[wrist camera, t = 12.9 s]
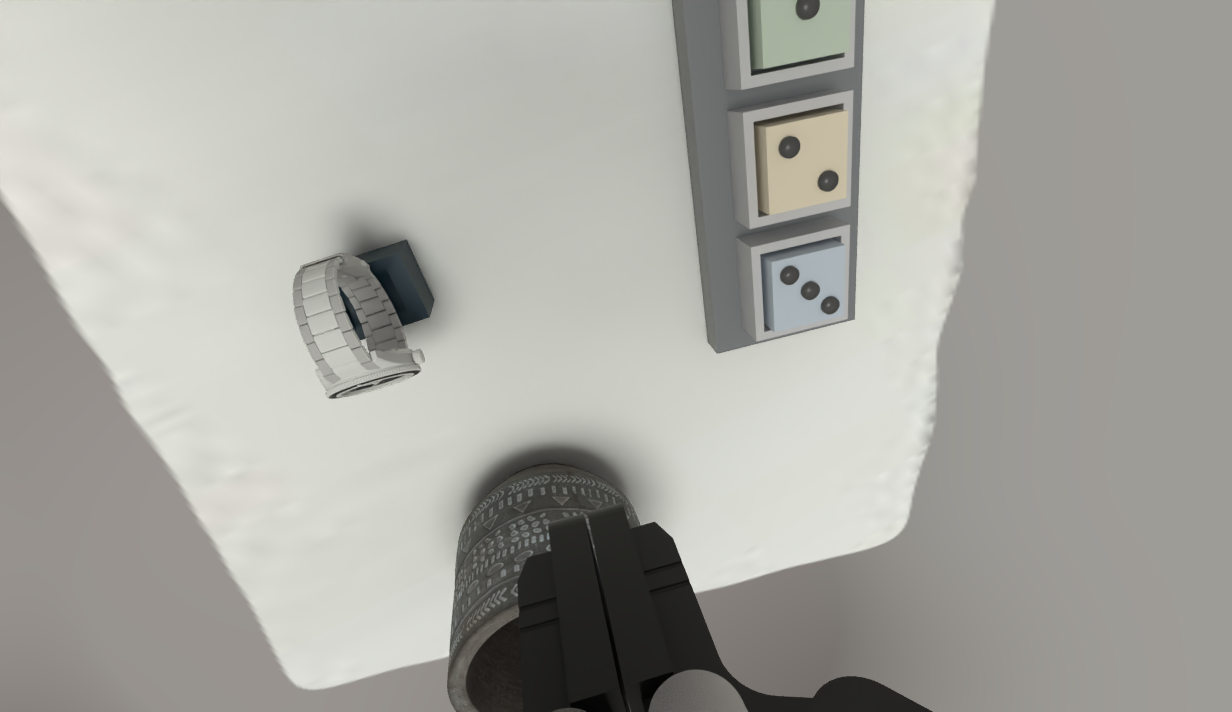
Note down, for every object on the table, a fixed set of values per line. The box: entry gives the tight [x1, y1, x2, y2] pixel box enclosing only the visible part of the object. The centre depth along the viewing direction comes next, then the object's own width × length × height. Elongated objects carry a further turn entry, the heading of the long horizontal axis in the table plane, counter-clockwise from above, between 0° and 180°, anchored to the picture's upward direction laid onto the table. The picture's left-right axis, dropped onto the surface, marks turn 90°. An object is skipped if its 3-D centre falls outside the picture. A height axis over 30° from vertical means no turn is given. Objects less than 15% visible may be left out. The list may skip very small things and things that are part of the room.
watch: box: [293, 240, 434, 399], centre depth 32 cm, size 6×8×11 cm
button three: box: [760, 238, 845, 333], centre depth 38 cm, size 5×5×4 cm
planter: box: [447, 464, 640, 712], centre depth 41 cm, size 14×14×15 cm
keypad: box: [672, 0, 865, 354], centre depth 36 cm, size 26×11×4 cm, turn 10°
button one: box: [747, 0, 851, 69], centre depth 31 cm, size 5×5×4 cm
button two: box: [753, 108, 848, 215], centre depth 34 cm, size 5×5×4 cm
